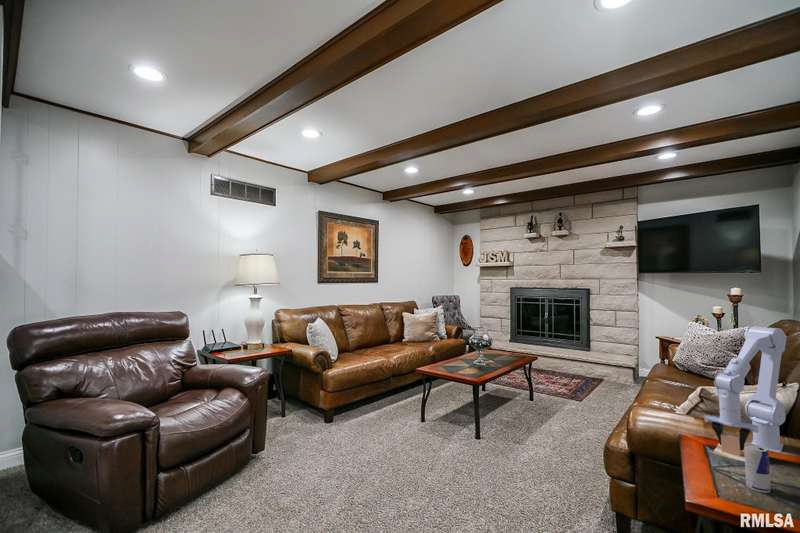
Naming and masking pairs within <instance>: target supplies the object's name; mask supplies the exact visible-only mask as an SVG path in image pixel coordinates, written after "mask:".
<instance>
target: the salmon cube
mask: <svg viewBox="0 0 800 533" xmlns="http://www.w3.org/2000/svg"><path fill="white" fill-rule="evenodd" d="M721 450H722V452H725V453H729V454H733V455H737V456H741V454H742V452H743V451H742V450H740V433H734V432H730V431H725V430H723V432H722V434H721Z"/></svg>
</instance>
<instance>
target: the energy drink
mask: <svg viewBox="0 0 800 533" xmlns="http://www.w3.org/2000/svg"><path fill="white" fill-rule="evenodd" d="M744 454H745V462H744V466H745V467H744V470H745V485H746V487H747V488H748V489H750V490H752V491H755V492H757V493H761V494H769V493H770V492H771V487H772V486H771V472H770V471H771V470H770V454H769V450H767V449H766V448H764V447H762V446H758V445H753V444H751V443H748V444H747V443H745V445H744Z"/></svg>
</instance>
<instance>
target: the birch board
mask: <svg viewBox="0 0 800 533" xmlns="http://www.w3.org/2000/svg"><path fill="white" fill-rule="evenodd" d="M711 454H713V455H717V456H720V457H725V458H729V459H732V460H737V461H740V462H742V463H743V462H744V463H745V454H744V450H743V452H742V454H741V456H737V455H733V454H729V453H725V452H722V450H721V445H720V443H718V444H717V446H716V447H715V448H714V450H713V451H712V452H711Z"/></svg>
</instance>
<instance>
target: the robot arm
mask: <svg viewBox="0 0 800 533" xmlns="http://www.w3.org/2000/svg"><path fill="white" fill-rule="evenodd" d="M743 337H744V342H743V344H742V347H741V348H740V351H739V353H738V355H737V357H733V358H731V360H730V361H729V363H728V364H727V365H726V367H725V369H724V370H723V372H722V373H719V374H717V375H716V376H715V378H714V381H713V384H714V387H715V389H716V393H717V394H718V401H719V402H718V403H719V404H718V406H719V416H713V415H712V416H711V415H705V416H704V422H705V423H711V427H712V430H713V431H714V433H715V434H716V436H717V439H718V442H719V443H720V445H721V434H722V432H723V431H724V429H723V427H724V426H728V427H731V428H736V429H740V430H739V433H738V434H740V450H742V451H743V450H744V447H745V445H746V441H747V438H748V437H749V435H750V433H751V432H752V441H751V442H750V444H753V445H758V446H762V447H764V448H766V449H767V450H768V451H771V452H776V453H782V450H783V448H784V444H783V443H781V440H780V439H781V438H780V437H781V436H780V426H781V425H783V424H784V423H785V421H786V416H787V415H786V412H785V404H784V403H782V402H781V401H780V400H779V399H778V398H777V390H778V385H779V384H778V383H779V376H780V369H781V368H780V367H781V360H782V354H783V353H784V352H785V350H786V346H787V345H786V343H787V335H786V333H785V332H784V330H783V329H782V328H779V327H767V326H766V327H765V326H755V325H748V326H747V327H746V329H745V330H744V332H743ZM759 351H760V352H761V359H760V366H759V371H758V372H759V374H758V379H757V380H758V381H757V388H756V393H754V394H752V395H749V396H748V398H747V399H748V400H747V401H746V404H745V406H744V411H745V413H746V415H747V417H749V420H751V422H752V423H748V422H745V421H742V417H741V416H742V414H741V413H742V412H741V396H740V395H741V394H740V393H742V392H743V391H744V388H745V382H746V381H745V378H746V376H747V375H748V373H749V371H750V370H751V365H750V362H751V361H752V360H753V358H754V357H755V356H756V355H757V353H758V352H759ZM719 443H718V444H719Z"/></svg>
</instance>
